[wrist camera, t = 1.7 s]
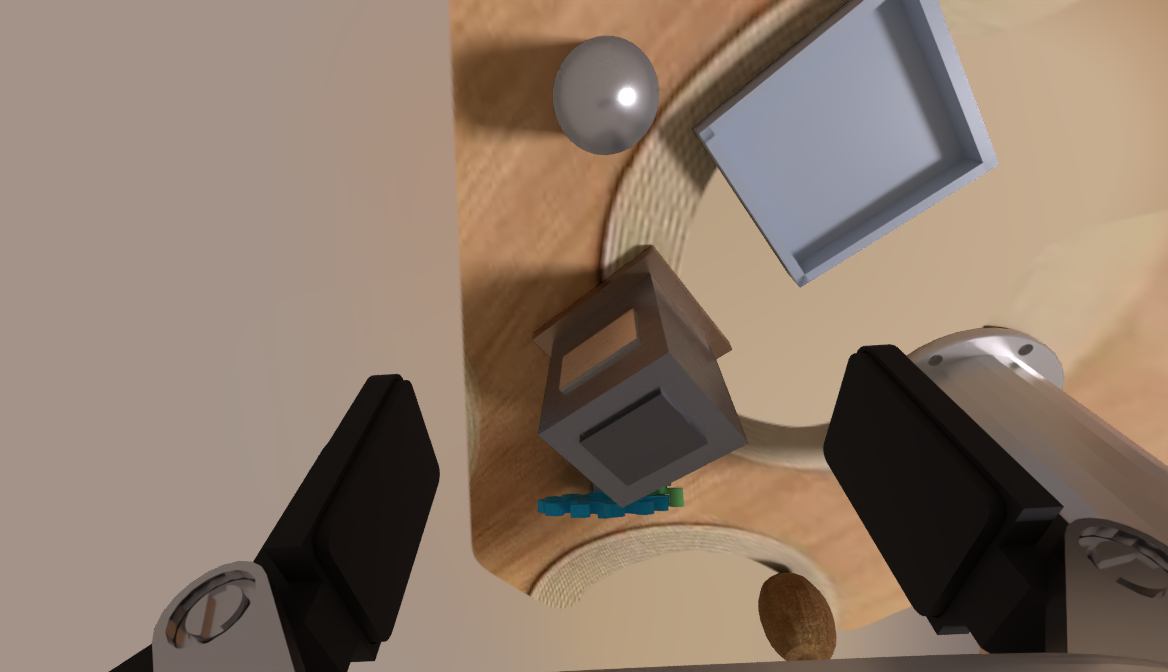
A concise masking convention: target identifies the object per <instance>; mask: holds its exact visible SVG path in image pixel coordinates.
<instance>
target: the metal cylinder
mask: <svg viewBox="0 0 1168 672" xmlns="http://www.w3.org/2000/svg"><path fill="white" fill-rule="evenodd" d="M658 101H659V87H658V80H657V76H656V73H655V70H654V68H653V66H652V64H651V62H650V60H649V59H648V57H647V56H646V55H645V54H644V52H643V51H642V50H641V49H640V48H638V47H637V46H636V45H634V44H633V43H631V42H629V41H627V40H625V39H622V38H620V37H614V36H600V37H595V38H591V39H589V40H587V41H584V42H583V43H581V44H579V45H578V46H577V47H575V48H574V49H573V50H572V51H571V52H570V53H569V54H568V55H567V56H566V58H565V59H564V61H563V62H562V64H561V66H560V68H559V70H558V72H557V75H556V78H555V82H554V87H553V106H554V111H555V115H556V118H557V121H558V123H559V125H560V127H561V129H562V131H563V132H564V133H565V135H566V136H567V137H568V138H569V139H570V141H572V142H573V143H574V144H575V145H576V146H578V147H580V148H581V149H583V150H585V151H587V152H590V153H594V154H600V155H609V154H615V153H619V152H622V151H624V150H627V149H628V148H630V147H632V146H633V145H635V144H636V143H637V142H638V141H639V140H640V139H641V138H642V137H643V136H644V135H645V134H646V133H647V131H648V130H649V128H650V126H651V125H652V122H653V120H654V118H655V115H656V112H657V108H658Z"/></svg>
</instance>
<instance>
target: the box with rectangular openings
mask: <svg viewBox="0 0 1168 672" xmlns="http://www.w3.org/2000/svg"><path fill="white" fill-rule="evenodd" d="M532 340H533V341H534V342H535V343H536V344H537V345H538V346H539V347H540V348H541V349H542V350H543V351H544V352H545V353H546V354H547V355H548V356H549V357H550V365H549V371H548V377H547V383H546V389H545V395H544V401H543V407H542V414H541V420H540V426H539V432H538V436H539V437H541V438H542V439H543V440H544V441H545V442H546V443H548V444H549V445H550V446H551V447H552V448H553V449H554V450H556V451H557V452H558V453H559V454H560V455H561V456H563V457H564V458H565V459H566V460H567V461H568V462H569V463H571V464H572V465H573V466H574V467H575V468H576V469H578V470H579V471H580V472H581V473H582V474H583V475H584V476H586V477H587V478H588V479H589V480H590V481H591V482H593V483H594V484H595V485H596V486H597V487H598V488H600V489H601V490H602V491H603V492H604V493H605V494H606V495H608V496H609V497H610V498H611V499H612V500H613V501H615V502H616V503H617V504H618V505H619V506H620V507H621V508H623V507H625V506H627V505H629V504H631V503H633V502H635V501H637V500H639V499H641V498H643V497H644V496H646V495H648V494H650V493H652V492H654V491H656V490H658V489H660V488H662V487H664V486H666V485H668V484H670V483H672V482H674V481H676V480H677V479H679V478H681V477H683V476H685V475H687V474H689V473H691V472H693V471H695V470H697V469H699V468H701V467H703V466H705V465H707V464H709V463H710V462H712V461H714V460H716V459H718V458H720V457H722V456H724V455H726V454H728V453H730V452H732V451H734V450H736V449H738V448H740V447H742V446H743V445H745V444H747V443H748V441H747V439H746V436H745V433H744V431H743V428H742V426H741V423H740V420H739V418H738V415H737V413H736V410H735V407H734V405H733V402H732V400H731V397H730V394H729V392H728V389H727V387H726V384H725V382H724V379H723V376H722V374H721V371H720V368H719V366H718V363H717V361H716V359H717V358H719V357H721V356H723V355H724V354H726V353H727V352H729V351H731V350H732V348H731V346H730V343H729V341H728V340H727V339H726V337H725V336H724V335H723V334H722V333H721V331H720V330H719V329H718V327H717V326H716V325H715V324H714V322H713V321H712V320H711V319H710V317H709V316H708V315H707V313H706V312H705V311H704V310H703V308H702V307H701V306H700V305H699V303H698V302H697V301H696V299H695V298H694V297H693V296H692V294H691V293H690V292H689V291H688V289H687V288H686V287H685V285H684V284H683V283H682V282H681V280H680V279H679V278H678V277H677V275H676V274H675V273H674V272H673V270H672V269H671V268H670V266H669V265H668V264H667V263H666V261H665V260H664V259H663V258H662V256H661V255H660V254H659V253H658V251H657V250H656V249H655V247H654V246H653V245H652V246H650V247H649V248H648V249H646V250H645V251H643V252H642V253H641V254H639V255H638V256H637V257H635V258H634V259H633V260H631V261H630V262H629V263H627V264H626V265H625V266H623V267H622V268H621V269H619V270H618V271H617V272H615V273H614V274H612V275H611V276H610V277H608V278H607V279H606V280H604V281H603V282H602V283H600V284H599V285H598V286H596V287H595V288H594V289H592V290H591V291H590V292H588V293H587V294H585V295H584V296H583V297H581V298H580V299H579V300H577V301H576V302H575V303H573V304H572V305H571V306H569V307H568V308H567V309H565V310H564V311H563V312H561V313H560V314H559V315H557V316H556V317H554V318H553V319H552V320H550V321H549V322H548V323H546V324H545V325H544V326H542V327H541V328H540V329H538V330H537V331H536V332H534V335H533V339H532Z"/></svg>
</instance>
